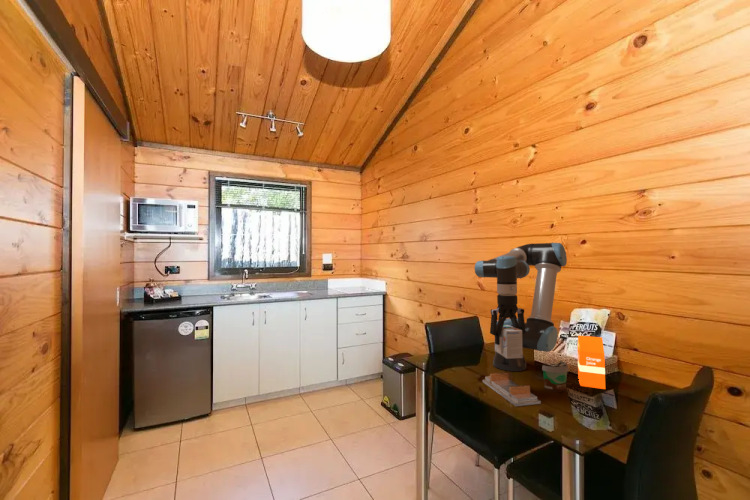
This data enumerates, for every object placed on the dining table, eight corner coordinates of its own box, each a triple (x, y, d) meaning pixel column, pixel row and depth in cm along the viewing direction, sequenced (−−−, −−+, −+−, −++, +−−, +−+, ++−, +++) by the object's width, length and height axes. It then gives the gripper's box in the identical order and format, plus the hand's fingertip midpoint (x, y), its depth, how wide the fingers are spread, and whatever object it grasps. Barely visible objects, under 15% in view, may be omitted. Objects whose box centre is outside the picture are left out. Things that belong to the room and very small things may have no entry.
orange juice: (578, 379, 145) (576, 333, 145) (602, 382, 141) (601, 335, 141) (580, 385, 138) (578, 337, 138) (605, 389, 134) (604, 339, 134)
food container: (556, 395, 129) (556, 369, 129) (542, 390, 134) (541, 365, 134) (576, 389, 134) (575, 364, 135) (561, 384, 140) (560, 360, 140)
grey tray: (503, 380, 145) (503, 368, 145) (540, 403, 121) (540, 390, 122) (482, 382, 143) (482, 370, 143) (516, 406, 120) (515, 392, 120)
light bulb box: (494, 351, 138) (493, 325, 138) (509, 350, 138) (509, 324, 139) (506, 359, 127) (506, 330, 127) (523, 358, 128) (523, 330, 128)
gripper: (489, 296, 128) (490, 356, 127) (535, 294, 131) (536, 353, 131) (479, 294, 135) (480, 351, 135) (523, 292, 139) (524, 347, 138)
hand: (508, 351), depth 133 cm, fingers closed on light bulb box, 7 cm apart
